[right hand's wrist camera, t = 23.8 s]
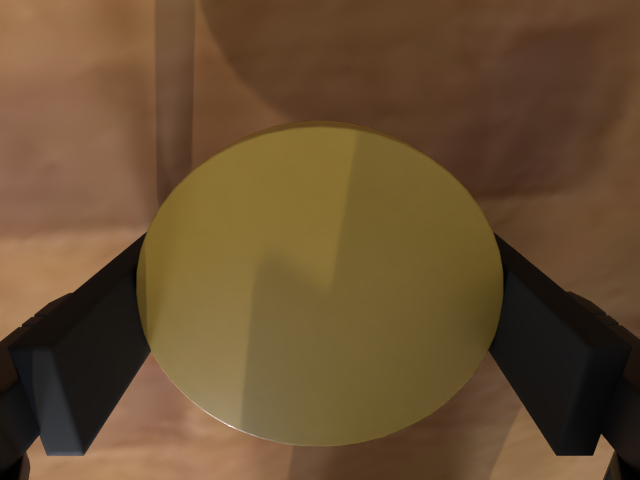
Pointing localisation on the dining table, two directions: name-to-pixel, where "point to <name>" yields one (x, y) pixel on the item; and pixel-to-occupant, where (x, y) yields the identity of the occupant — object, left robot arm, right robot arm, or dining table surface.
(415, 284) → the lid
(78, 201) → the dining table surface
